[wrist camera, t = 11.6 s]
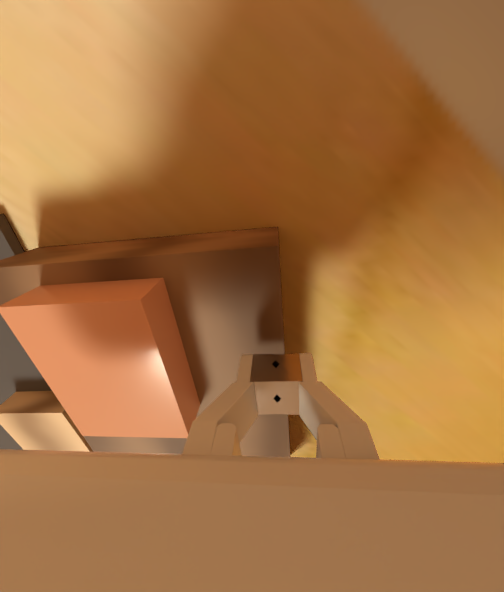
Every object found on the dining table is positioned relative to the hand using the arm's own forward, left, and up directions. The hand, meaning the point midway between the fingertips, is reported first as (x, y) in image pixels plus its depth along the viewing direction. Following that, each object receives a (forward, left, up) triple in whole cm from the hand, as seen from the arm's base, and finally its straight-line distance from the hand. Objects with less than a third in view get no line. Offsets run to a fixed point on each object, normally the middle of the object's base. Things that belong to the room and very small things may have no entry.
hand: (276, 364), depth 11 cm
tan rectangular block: (+18, +10, -4) cm, 21 cm away
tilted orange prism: (+8, 0, -1) cm, 8 cm away
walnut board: (+7, +5, -5) cm, 10 cm away
